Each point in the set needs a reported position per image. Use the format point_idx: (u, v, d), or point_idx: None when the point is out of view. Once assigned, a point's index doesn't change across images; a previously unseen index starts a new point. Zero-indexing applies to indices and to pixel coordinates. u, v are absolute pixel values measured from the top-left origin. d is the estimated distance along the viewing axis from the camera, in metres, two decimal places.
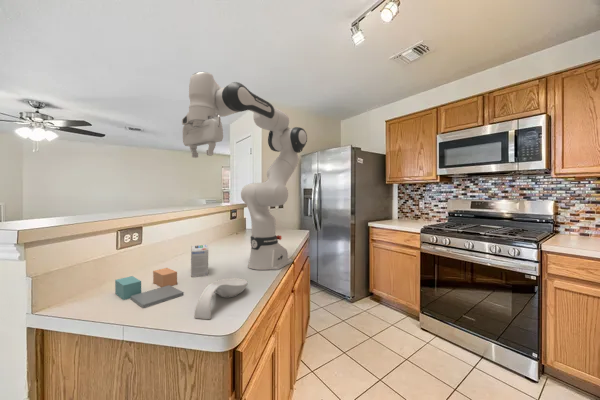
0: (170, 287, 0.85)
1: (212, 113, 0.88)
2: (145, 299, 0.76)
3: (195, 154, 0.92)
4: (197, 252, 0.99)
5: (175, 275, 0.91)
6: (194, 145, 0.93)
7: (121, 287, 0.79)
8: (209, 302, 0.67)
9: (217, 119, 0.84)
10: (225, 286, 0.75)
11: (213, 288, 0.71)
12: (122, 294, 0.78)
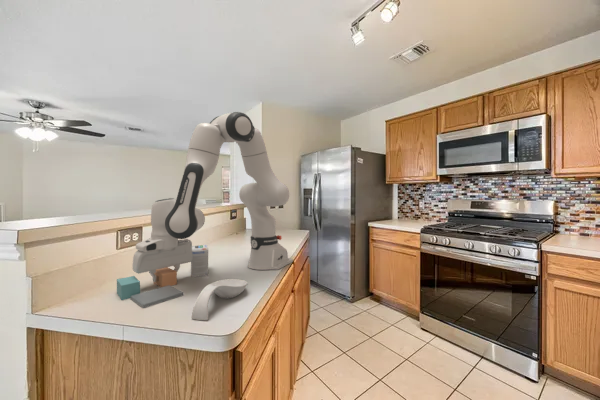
0: (170, 287, 0.85)
1: None
2: (145, 299, 0.76)
3: None
4: (197, 252, 0.99)
5: (175, 275, 0.91)
6: None
7: (120, 287, 0.79)
8: (206, 303, 0.66)
9: (190, 243, 0.99)
10: (224, 287, 0.74)
11: (211, 289, 0.70)
12: (120, 294, 0.78)
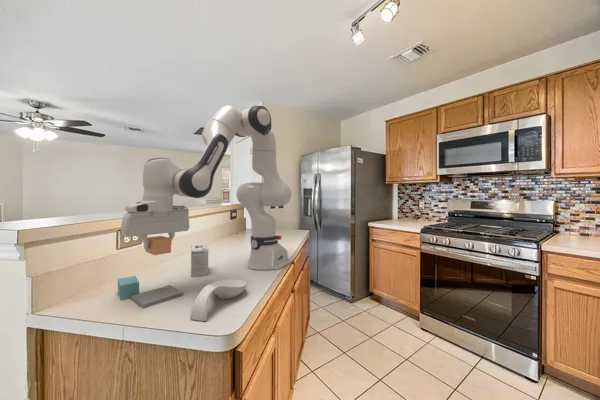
0: (170, 287, 0.85)
1: None
2: (145, 299, 0.76)
3: None
4: (197, 252, 0.99)
5: (169, 242, 0.82)
6: None
7: (119, 287, 0.79)
8: (205, 304, 0.66)
9: (186, 211, 0.90)
10: (223, 287, 0.74)
11: (210, 289, 0.70)
12: (120, 294, 0.78)
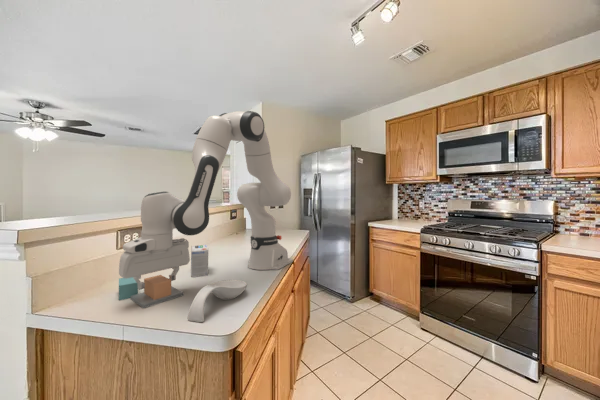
0: None
1: None
2: (145, 299, 0.76)
3: None
4: (197, 252, 0.99)
5: (169, 284, 0.79)
6: None
7: None
8: (202, 305, 0.65)
9: (186, 243, 0.87)
10: (221, 288, 0.73)
11: (208, 290, 0.69)
12: None
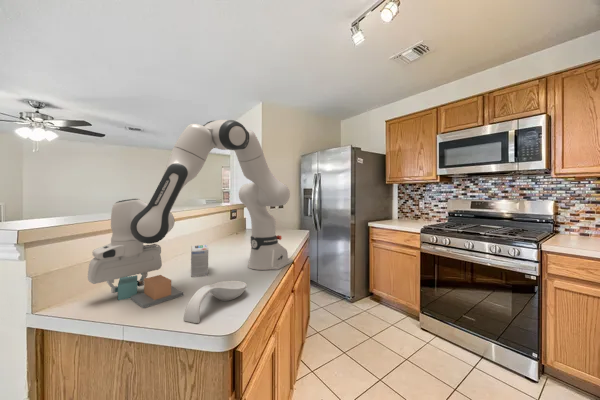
0: None
1: None
2: (145, 299, 0.76)
3: None
4: (197, 252, 0.99)
5: (169, 284, 0.79)
6: None
7: None
8: (198, 305, 0.65)
9: (159, 249, 0.89)
10: (219, 289, 0.73)
11: (205, 291, 0.69)
12: (118, 294, 0.78)
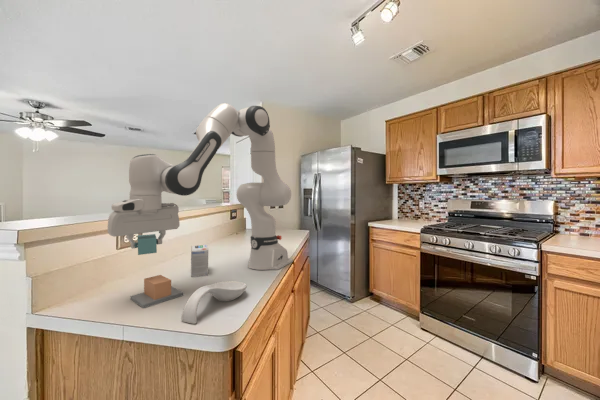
0: None
1: None
2: (145, 299, 0.76)
3: None
4: (197, 252, 0.99)
5: (169, 284, 0.79)
6: None
7: None
8: (195, 306, 0.64)
9: (176, 208, 0.88)
10: (218, 290, 0.72)
11: (203, 291, 0.68)
12: None
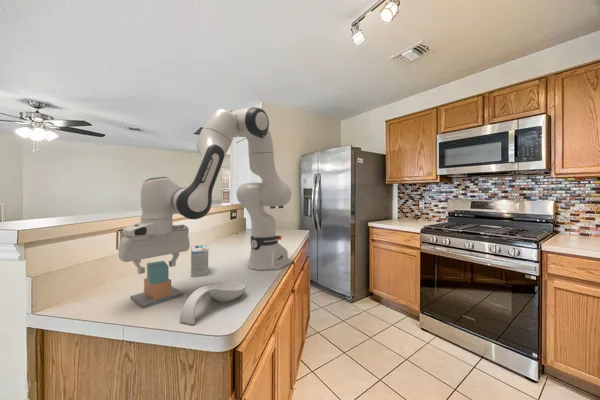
0: None
1: None
2: (145, 299, 0.76)
3: None
4: (197, 252, 0.99)
5: (169, 284, 0.79)
6: None
7: (149, 271, 0.76)
8: (194, 307, 0.64)
9: (186, 230, 0.87)
10: (216, 290, 0.72)
11: (201, 292, 0.68)
12: (149, 278, 0.76)
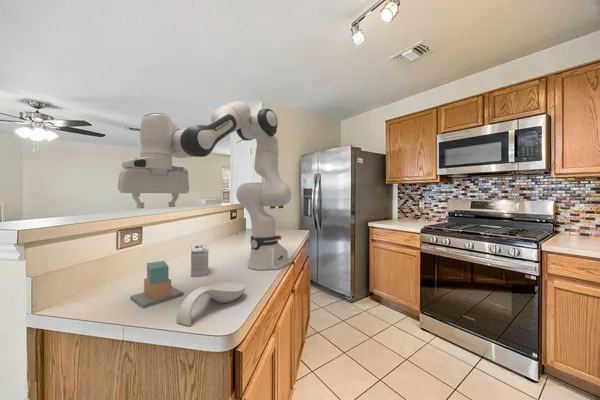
0: None
1: None
2: (145, 299, 0.76)
3: None
4: (197, 252, 0.99)
5: (169, 284, 0.79)
6: None
7: (149, 271, 0.76)
8: (190, 308, 0.64)
9: (186, 173, 0.86)
10: (214, 291, 0.71)
11: (198, 293, 0.67)
12: (149, 278, 0.76)
